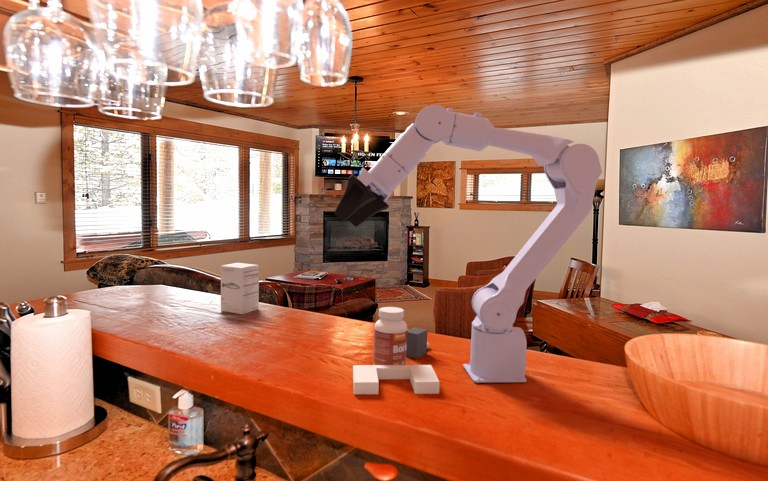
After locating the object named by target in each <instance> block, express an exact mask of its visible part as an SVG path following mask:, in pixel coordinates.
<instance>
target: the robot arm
mask: <svg viewBox="0 0 768 481" xmlns="http://www.w3.org/2000/svg"><path fill="white" fill-rule="evenodd" d="M482 116H483V113H482V112H474V113H473V115H471V114H468V113H464V112H463V113H462V112H457V111H454V109H453V108H451V107H448V108H446V107H444V106H442V105H441V104H430V105H429V104H428V105H427V106H424V107H423V108H422V109H420V110H419V112H418V113H417V115H416V117H415V120H414V123H413V122H412V123H411V124H410V125H409V126H407V128H406V129H405V131H404V132H402V133H400V135H399V136H398V137H397V138H396V139H395V141H394V142H393V143H391V145H390V146H389V147H388V148H387V149H386V150H385V152H384V153H383V154H382V155H381V156H380V157H379V159H378V160H377V161H375V163H374V164H373V165H372V166H371V167H370V169H369V170H367V169H365V167H362V168H361V169H360V171H361V172H360V173H359V174H358V176H357V177H356V175H354V174H351V175H350V176H349V177H348V179H347V180H348V181H347V185H346V188H345V191H344V194H343V195H342V197H341V199H340V201H339V203H338V204H337V207H336V208H335V210H334V212H333V214H334V216H336V217H337V218H338V220H340V221H341V222H345V221H349V223H351V224H352V225H353V226H354V227H355V228H357V227H359V226H360V225H361V224H363V223H365V221H367V220H369V219H370V218H371V217H373V216H374V215H376V214H377V213H380V212H383V211H385V210H388V208H390V205H389V204H388V203H387V202H386V201H387V200H388V199H390V197H392V195H393V192H394V191H395V190H396V189H397V187H399V185H400V184H402V182H403V181H404V180H405V179H406V178H407V177H408V176H409V175H410V173H412V171H413V170H414V169H415V168H417V165H419V163H421V161H423V159H424V158H425V157H426V154H427V152H428V151H429V150H430V149H431V148H432V147H433V145H434V144H436V143H437V144H438V143H439V142H442V143H443V144H444V145H446V146H450V147H455V148H461V149H466V150H471V151H475V152H476V151H477V152H481V151H483V150H484V149H486V148H488V147H493V148H499V149H502V150H507V151H511V152H516V153H520V154H523V155H528V156H531V157H532V158H533V160H534V162H535V163H536V165H537V166H538V167H542V166H543V170H544V174H545V177H546V178H547V181H549V183H550V186H552V188H553V190H554V195H555V199H556V205H555V207H553V209H552V210H551V211H550V213H549V214H548V215H547V217H546V218H545V219H544V220H543V221H542V222H541V224H540V225H539V226H538V228H537V229H536V230H535V232H534V233H533V234H532V235H531V237H530V238H529V239H527V241H526V243H524V245H523V246H522V247H521V248H520V250H519V251H518V253H517V254H516V255H515V256H514V258H512V260H511V261H510V262H509V263H508V265H507V266H506V267H505V269H504V270H503V271H502V272H500V273H499V274H498V275H496V276H495V277H493V278H492V279H491V280H490V282H489V283H488V284H486V285H484V286H482V287H480V288H478V289H477V290H476V291H474V293H473V296H472V298H471V308H472V310H473V311H474V313H475V314H476V316H474V320H473V321H471V333H470V334H471V336H470V337H471V338H470V356H469V357H470V358H469V363H463V364H462V367H463V369H465V371H466V372H467V374H468V375H469V377H470V378H471V380H472V381H473V382H474V383H475V384H476V383H477V384H478V383H479V384H480V383H485V384H486V383H526V382H527V378H526V366H527V365H526V364H527V349H528V348H527V346H528V345H527V336H526V334H525V331H524V329H522V328H521V327H518V326H514V323H515V322H516V318H517V314H518V311H519V309H520V307H521V306H522V305H523V304H524V302H525V297H526V296H525V295H526V292H527V290H528V288H529V287H530V286H531V285H532V284H533V282H534V281H535V280H536V278H538V276H539V275H540V274H541V273H542V271H543V270H544V269H545V268H546V266H548V264H549V263H550V261H552V259H553V258H554V257H555V256H556V254H557V253H558V252H559V250H560V249H561V248H562V247H563V246H564V244H566V243H567V241H568V240H569V238H570V237H571V236H572V235H573V234H574V232H575V231H576V230H577V229H578V227H579V226H580V225H581V224H582V223H583V221H584V220H585V219H586V218H587V217H588V215H589V214H590V213H591V210H592V208H593V203H594V199H595V193H596V188H597V182H598V180H599V178H600V177H601V175H602V172H603V171H602V166H601V162H600V158H599V155H598V153H597V151H596V150H595V148H593V147H592V146H591V145H588V144H586V143H575V141H573V140H572V139H568V138H564V137H563V138H562V137H558V136H553V135H546V134H541V133H540V134H539V133H534V132H527V131H521V130H515V129H507V128H501V127H495V126H494V125H493V124H492V122H491V121H490V119H489V118H487V117H482ZM574 143H575V144H574ZM570 144H573V145H570ZM569 145H570V146H569Z"/></svg>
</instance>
